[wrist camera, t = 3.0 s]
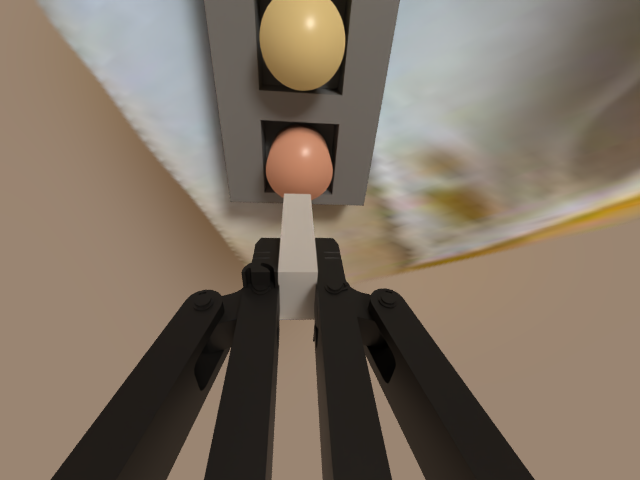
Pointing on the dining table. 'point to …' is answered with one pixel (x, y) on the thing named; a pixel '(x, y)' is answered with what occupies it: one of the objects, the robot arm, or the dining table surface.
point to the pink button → (299, 162)
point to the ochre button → (302, 42)
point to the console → (299, 97)
